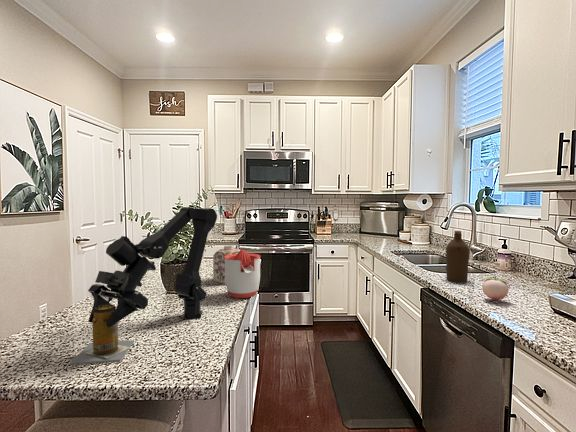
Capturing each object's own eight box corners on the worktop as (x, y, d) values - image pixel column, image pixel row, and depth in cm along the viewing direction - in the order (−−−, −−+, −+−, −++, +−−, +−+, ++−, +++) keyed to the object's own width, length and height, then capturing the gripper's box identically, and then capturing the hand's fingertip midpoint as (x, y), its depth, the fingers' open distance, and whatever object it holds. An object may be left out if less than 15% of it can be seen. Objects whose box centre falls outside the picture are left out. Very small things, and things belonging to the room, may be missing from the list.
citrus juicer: (230, 303, 134) (230, 253, 133) (220, 292, 150) (220, 247, 149) (267, 298, 141) (267, 251, 139) (254, 288, 156) (254, 245, 155)
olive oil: (473, 282, 167) (474, 231, 165) (454, 283, 165) (455, 232, 164) (459, 277, 177) (460, 229, 176) (440, 278, 175) (441, 230, 174)
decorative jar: (212, 281, 170) (212, 245, 169) (230, 277, 179) (230, 243, 178) (228, 285, 162) (227, 248, 162) (246, 280, 171) (245, 245, 170)
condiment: (108, 343, 97) (107, 301, 96) (130, 348, 93) (129, 305, 93) (84, 353, 90) (82, 309, 89) (107, 359, 87) (105, 313, 86)
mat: (90, 344, 97) (90, 342, 97) (134, 341, 99) (134, 340, 99) (69, 364, 85) (69, 363, 85) (120, 361, 87) (120, 359, 87)
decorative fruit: (482, 302, 135) (482, 277, 134) (481, 296, 142) (481, 273, 142) (510, 305, 131) (510, 280, 130) (507, 299, 138) (508, 275, 137)
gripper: (93, 256, 98) (54, 304, 89) (137, 261, 90) (100, 315, 81) (118, 277, 106) (85, 323, 96) (161, 284, 97) (130, 335, 88)
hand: (98, 324), depth 90 cm, fingers open, 7 cm apart
